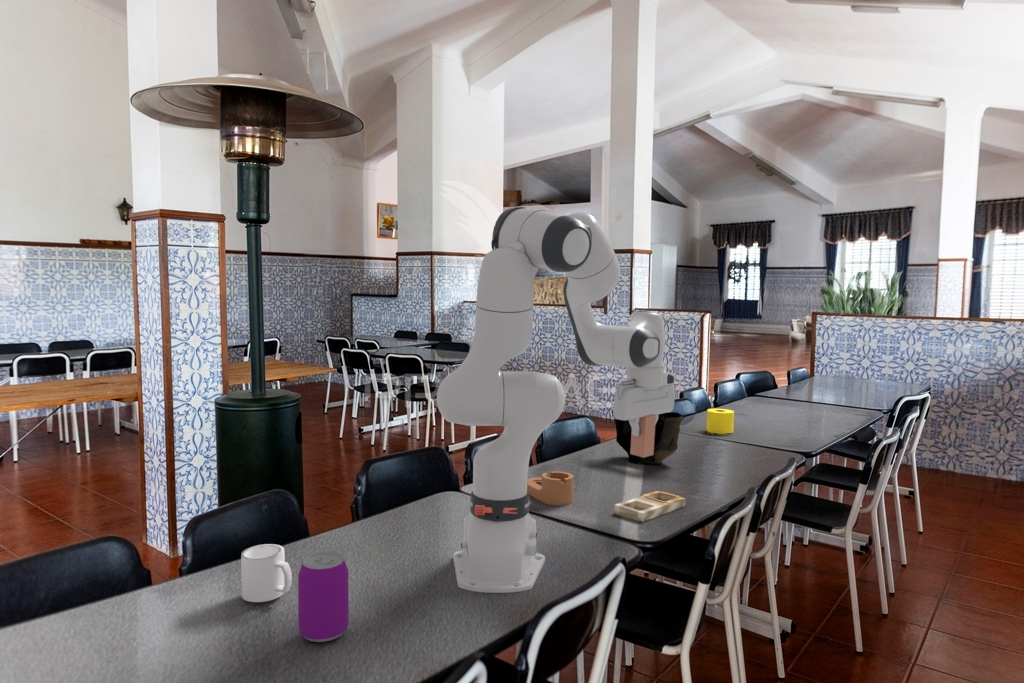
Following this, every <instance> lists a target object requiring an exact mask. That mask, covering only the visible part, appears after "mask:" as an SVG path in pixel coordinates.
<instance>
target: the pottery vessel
mask: <svg viewBox="0 0 1024 683" xmlns="http://www.w3.org/2000/svg"><path fill="white" fill-rule="evenodd" d="M611 414H612V416H613V420H614V424H615V426H614V427H615V431H616V437H615V438H616V439H615V442H616V443H617V444H618V445H619V447H621V448H622V450H624V452H626V454H627V462H628V463H629V464H630V463H631V464H635V465H641V464H652V465H655V464H657V465H658V464H659V465H662V464H663V460H665V459H667V458H668V457H670V456H672V455H673V454H674V453H675V452H676V450H677V449H678V441H679V434H680V433H681V432H680V431H681V429H680V428H681V422H682V421H683V420H685V416H684V415H682V414H681V413H679V412H673V411H671V412H667V413H662V414H658V420H657V423H656V425H655V437H654V453H653V455H652V456H648V457H644V458H643V457H640V456H636V455H632V454H630V449H631V432H632V428H631V425H630V423H629V420H619V419H615V417H614V415H613V409H612V411H611ZM659 465H658V466H659Z"/></svg>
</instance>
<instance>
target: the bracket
mask: <svg viewBox="0 0 1024 683" xmlns="http://www.w3.org/2000/svg"><path fill="white" fill-rule="evenodd" d="M527 491H528V493H529V496H531V497H532V498H534V499H536V500H537V501H539V502H542V503H543V504H545V505H549V506H566V505H570V504H572V503H573V502H574V474H572V473H569V472H568V471H567V472H566V471H554V470H553V471H549V473H548V472H543V473H542V474H541V477H530V478H528V479H527Z"/></svg>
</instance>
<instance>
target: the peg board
mask: <svg viewBox="0 0 1024 683" xmlns="http://www.w3.org/2000/svg"><path fill="white" fill-rule="evenodd" d="M685 506H686V498H685V497H682V496H680V495H678V494H677V495H676V494H673V493H669V492H666V491H659V490H657V491H656V490H654V491H651V492H648V493H644V494H642V495H641V496H638V497H634V498H632V499H629V500H625V501H622V502H619V503H618V502H617V503H615V504H614V510H613V511H614V515H617V516H621V517H624V518H628V519H630V520H635V521H638V522H640V521H641V523H644V522H646V520H647V521H650V520H652V519H654V518H658V517H659V516H663V515H665V514H668V513H671V512H673V511H675V510H678V509H681V508H684V507H685ZM649 519H650V520H649Z"/></svg>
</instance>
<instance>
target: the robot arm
mask: <svg viewBox="0 0 1024 683" xmlns="http://www.w3.org/2000/svg"><path fill="white" fill-rule="evenodd" d="M491 236H492V239H491V243H490V244H491V250H490V251H488V252H487V253H486V254H485V255H484V257H483V258H482V261H481V265H480V269H479V275H478V280H477V288H476V290H477V291H476V302H475V304H476V305H475V306H476V307H475V326H474V335H473V340H472V345H471V347H470V350H469V351H468V354H467V356H466V357H465V359H464V360H463V361H462V363H461V364H460V365H459V366H458V367H457V368H456V369H455V370H453V371H452V372H451V373H449V374H447V375H446V376H445V377H444V378H443V379H442V381H441V382H440V384H439V386H438V389H437V393H436V405H437V408H438V411H439V413H440V414H441V416H442V417H443V419H444V420H445V421H446V422H448V423H453V424H457V425H461V426H462V425H463V426H468V427H484V426H485V427H487V426H488V427H492V426H493V427H495V426H497V427H499V426H500V427H504V429H503V432H502V433H501V434H500V435H499V436H498V437H497V438H496V439H494V440H492V441H489V442H488V443H485V445H482V446H481V447H480V448H479V449H478V450H477V452H475V455H474V456H473V462H472V463H473V464H472V466H473V468H472V475H473V476H472V491H471V492H470V498H469V504H470V505H469V506H470V508H469V509H470V510H469V511H470V512H469V513H468V515H466V516H465V517H464V518H463V541H462V542H460V548H461V550H458V551H455V552H454V553H453V557H452V560H453V566H454V572H455V573H454V574H455V579H456V585H457V587H458V588H460V589H463V590H467V591H469V592H477V593H489V594H490V593H494V594H496V593H497V594H503V593H504V594H505V593H507V594H509V593H519V592H525V591H528V590H531V589H532V588H533V587H534V585H535V583H536V580H537V578H538V576H539V574H540V572H541V570H542V568H543V567H544V564H545V562H546V556H545V555H544V554H542V553H540V552H538V545H537V538H538V531H537V520H536V519H535V518H534V517H533V516H531V514H530V513H529V512H530V504H531V502H530V501H531V499H530V495H529V493H528V491H527V479H528V477H529V475H528V474H529V466H530V457H531V454H532V450H533V448H534V446H535V444H536V441H537V440H538V439H539V437H540V436H541V434H542V433H543V432H544V431H545V430H546V429H547V428H548V427H549V426H551V424H553V423H554V422H555V421H557V419H559V418H560V416H561V415H562V413H563V411H564V409H565V404H566V393H565V389H564V387H563V384H562V382H561V381H560V379H559V378H557V377H556V376H555V375H553V374H548V373H545V372H539V371H531V370H530V371H529V370H526V371H525V370H524V371H522V370H521V371H519V370H513V371H511V370H510V371H507V370H506V371H505V370H500V369H501V368H502V367H503V365H505V364H506V363H507V362H508V361H510V360H512V359H515V358H516V357H519V356H520V355H522V354H524V353H525V351H527V350H528V348H529V347H530V345H531V342H532V340H533V338H532V337H533V320H534V281H535V278H536V275H537V272H538V271H539V269H543V270H550V271H554V272H556V273H565V275H566V277H567V278H566V279H565V282H564V284H563V290H562V291H563V300H564V304H565V307H566V310H567V313H568V318H569V321H570V324H571V327H572V330H573V333H574V336H575V337H574V338H575V346H576V352H577V354H578V356H579V358H580V359H581V361H582V363H584V364H586V365H587V366H592V367H593V366H596V367H598V366H600V367H601V366H605V367H606V366H607V367H617V368H626V379H625V380H621V381H620V383H619V384H618V386H617V387H616V390H615V394H614V398H613V406H612V410H613V414H612V416H613V415H614V417H615V419H619V420H629V423H630V425H631V428H632V435H633V436H639V435H641V428H639V425H638V422H639V419H640V418H641V417H645V416H650V415H656V421H655V425H656V423H657V420H658V414H662V413H667V412H673V409H674V408H675V407H674V406H675V393H676V391H675V386H674V385H675V384H676V381H677V380H676V379H677V378H676V377H677V376H676V375H675V374H673V373H670V372H668V371H666V370H665V362H664V359H663V358H664V352H665V349H666V330H665V322H664V318H663V316H662V314H660V313H658V312H654V311H648V310H637V311H634V312H633V311H632V313H631V315H630V320H629V322H628V323H627V324H625V325H611V324H610V325H609V324H602V323H601V322H599V321H596V320H595V317H594V313H593V309H592V306H591V305H592V304H591V303H594V302H598V301H600V300H602V299H604V298H606V297H607V296H608V295H609V294H610V293H612V291H613V290H614V289H615V287H617V285H618V283H619V280H620V277H621V276H620V275H621V268H620V263H619V260H618V257H617V254H616V252H615V249H614V248H613V246H612V244H611V242H610V239H609V238H608V236H607V234H606V232H605V231H604V229H603V227H602V226H601V225H600V223H599V222H598V220H597V219H596V218H595V217H594V216H593V215H591V214H589V213H587V212H584V211H579V212H578V211H577V212H573V213H571V214H568V215H563V214H560V213H556V212H553V211H550V210H547V209H543V208H542V209H541V208H529V207H524V206H516V207H511V208H508V209H506V210H503V212H501V213H500V214H499V216H498V217H497V220H496V221H495V224H494V227H493V231H492V235H491ZM614 417H613V418H614Z"/></svg>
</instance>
